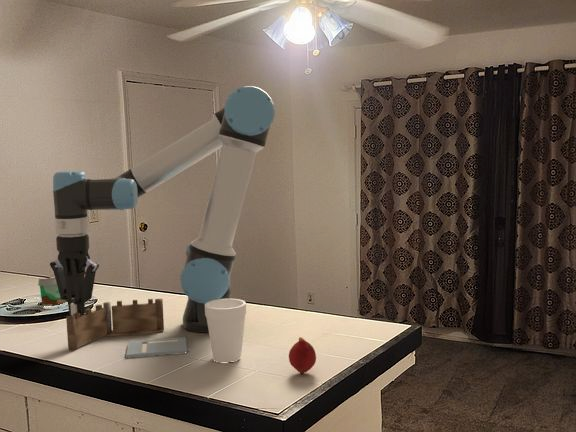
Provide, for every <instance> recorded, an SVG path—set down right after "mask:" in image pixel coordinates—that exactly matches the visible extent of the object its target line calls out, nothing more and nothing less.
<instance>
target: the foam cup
mask: <svg viewBox="0 0 576 432" xmlns="http://www.w3.org/2000/svg"><path fill="white" fill-rule="evenodd" d="M246 315H247V303H246V301H245V300H242V299H238V298H232V299H217V300H212V301H209V302H207V303H205V316H206V318H207V324H208V330H209V332H208V335H209V341H210V347H211V353H212V358H214V359H213V361H214V360H215V361H217V362H231V361H236V360H238V359H239V358H240V357H241V358H242V350H243V340H244V331H245V330H244V329H245V321H246ZM215 361H214V362H215ZM217 362H216V363H217Z"/></svg>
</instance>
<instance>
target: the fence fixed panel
mask: <svg viewBox="0 0 576 432" xmlns="http://www.w3.org/2000/svg"><path fill="white" fill-rule="evenodd" d="M147 302H148V303H138V299H132V304H130V303H129V304H123V300H117V301H116V305H115V304H114V305H111V302H110V301H106V302H103V303H102V308H106V319H107V334H106V335H105V336H108V337H118V336H119V337H120V336H131V335H132V336H133V335H146V334H157V333H159V332H161V333H164V331H165V322H164V321H165V320H164V303H163V302H164V300H163V298H155V299H154V298H148V299H147Z"/></svg>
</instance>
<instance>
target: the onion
mask: <svg viewBox="0 0 576 432" xmlns="http://www.w3.org/2000/svg"><path fill="white" fill-rule="evenodd" d="M316 354H317V353H316V351H315V349H314V346H313V345H312V344H311V343H309V342H308V341H306V340H305V338H304V337H302V336H300V337H298V341H297V342H295V343H294V344H293V345H292V346H291V348H290V350H289V353H288V359H289V360H288V361H289V364H290V366H291V367H293V368H294V369H295V371H297V372H298V373H299V372H300V373H299V374H301V373H304V372H305V373H308V371H310V370H311V369H312V368H313V367H314V366H315V363H316V361H317V355H316ZM305 373H304V374H305Z"/></svg>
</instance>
